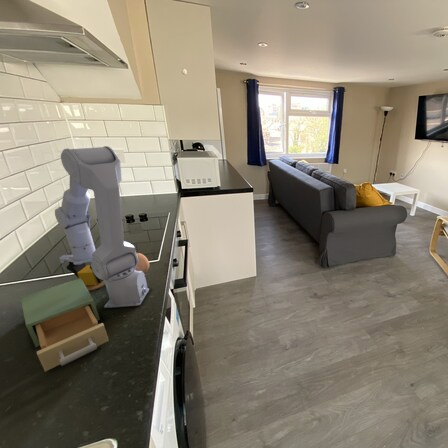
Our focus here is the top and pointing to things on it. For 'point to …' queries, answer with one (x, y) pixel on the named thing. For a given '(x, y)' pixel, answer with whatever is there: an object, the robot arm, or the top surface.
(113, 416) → the top surface
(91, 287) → the coaster
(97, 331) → the drawer
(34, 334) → the cabinet
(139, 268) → the egg
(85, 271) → the orange block
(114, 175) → the robot arm
